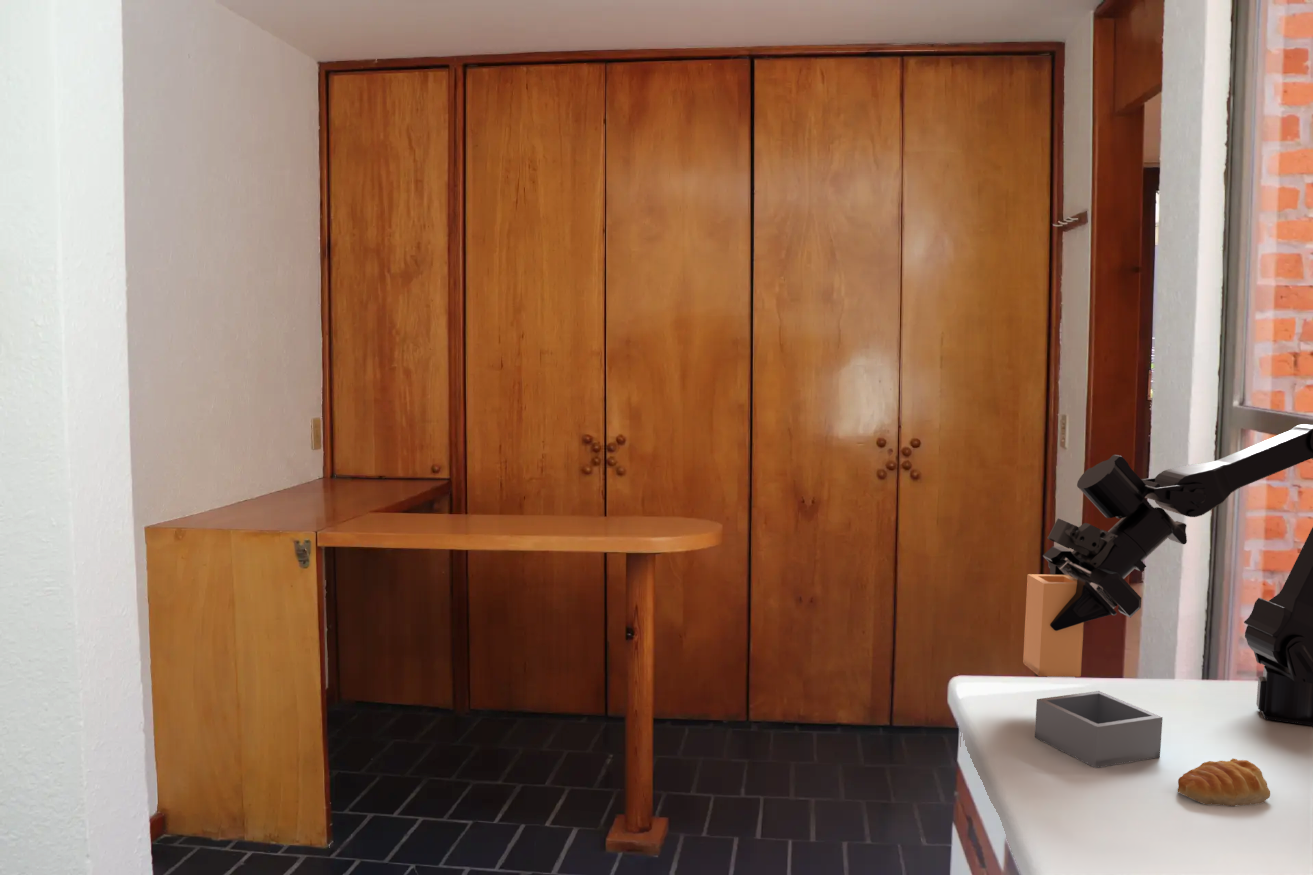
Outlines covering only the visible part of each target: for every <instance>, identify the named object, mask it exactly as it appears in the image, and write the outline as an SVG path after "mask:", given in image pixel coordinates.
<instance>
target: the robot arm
mask: <svg viewBox="0 0 1313 875" xmlns="http://www.w3.org/2000/svg"><path fill="white" fill-rule="evenodd" d="M1309 460H1313V424H1307V423H1303V424H1298V425H1296V426H1294V427H1293V428H1291V429H1289V430H1288V431H1284V432H1283V433H1279V434H1277V435H1275V436H1273V437H1270V438H1268V439H1265V440H1263V441H1261V442H1258V443H1256V444H1253V445H1251V446H1249V447H1246V448H1244V449H1242V450H1239V451H1236V452H1233V453H1231V454H1229V455H1227V456H1224V457H1221V458H1219V459H1217V460H1213V461H1210V462H1209V461H1208V462H1201V463H1192V464H1186V465H1182V466H1178V467H1177V466H1176V467H1172V468H1168V469H1164V470H1163V471H1161V472H1159V473H1158V474H1157V475H1156V476H1155V477H1150V478H1149V477H1148V478H1140V476H1139V475H1138V474H1137V473H1136V472H1135V471H1134V470H1133V469H1132V467H1131V466H1130V465H1129V463H1128V461H1127V460H1126V459H1125V457H1123V456H1122V455H1119V454H1113V455H1112V456H1111V457H1110V458H1108V459H1107V460H1103V461H1100V462H1099V463H1097V464H1095V465H1094V466H1092V467H1089V468H1087V469H1086V470H1085V471H1084V472H1083V474H1082V475H1081V476H1080V477H1079V478H1078V480H1077V484H1076V486H1077V488H1078V489H1079V491H1080V492H1082V494H1084V496H1085V497H1086V498H1087V499H1088V500H1089V501H1090V502H1091V503H1092V504H1093V505H1094V506H1095V508H1097V510H1098V511H1099V512H1100V513H1101V514H1102V515H1103V516H1104V517H1105V518H1106V519H1113V518H1116V519H1119V521H1117V522H1116V523H1115V524H1114V525H1113V526H1112V527H1111V528H1110V529H1108V531H1106V530H1104V529H1102V528H1098V527H1096V526H1094V525H1092V524H1090V523H1087V522H1084V523H1082V524H1081V525H1079V526H1077V525H1075V524H1073V523H1071V522H1069V521H1067V520H1065V519H1061V518H1060V517H1059V518H1056V521H1055V523H1054V525H1053V527H1052V529H1051V530H1050V533H1049V535H1048V536H1047V539H1048V540H1049V541H1051V542H1053V543H1056V544H1058V545H1060V546H1051V547H1050V548H1049V549H1048V550H1047V551H1046V552H1045V553H1044V554H1043V555H1042V557H1043V558H1044V559H1045V560H1046V561H1047V562H1048V568H1049V575H1069V576H1071V577H1073V578H1075V579H1077V588H1076V593H1075V595H1074V596H1073V597H1072V598H1071V600H1070V601H1069V602H1068V603H1067V604H1066V605H1065V607H1064V608H1063V609H1062V610H1061V611H1060V612H1059V614H1058V615H1057V616H1056V617H1055V619H1054V620H1053V621H1052V623H1051V624H1050V626H1051V627H1052V628H1053V629H1054V630H1055V631H1058V630H1061V629H1064V628H1067V627H1070V626H1073V625H1077V624H1080V623H1083V622H1084V623H1086V622H1089V621H1092V620H1097V619H1100V618H1105V617H1107V616H1111V615H1112V616H1116V615H1117V612H1116V610H1115V609H1116V608H1117V607H1118V608H1117V610H1118V612H1119V613H1120V614H1123V615H1124V616H1126V617H1128V618H1132V617H1133V615H1135V614H1136V613H1138V611H1139V610H1140V609H1141V608H1142V596H1141V595H1139V594H1138V592H1137V591H1136V590H1135V589H1134V588H1133V587H1132V586H1131V585H1130V584H1129V583H1128V582H1127V581H1126V580H1125V579H1126V577H1127V576H1128V575H1130V574H1131V572H1133V571H1134V570H1137V571H1139V572H1142V571H1144V569H1145V568H1147V565H1146V564H1145V563H1144V561H1145V560H1146V559H1147V558H1148V557H1149V556H1150V555H1151V554H1152V553H1153V552H1154V551H1155V550H1156V549H1157V548H1158V547H1160V546H1161V545H1162V544H1163V543H1164V542H1165V541H1166V540H1168V539H1169V541H1172V542H1176V543H1178V544H1182V545H1186V544H1187V542H1188V539H1187V537H1188V536H1187V532H1186V531H1187V524H1186V523H1184V522H1182V521H1179V520H1174V519H1173V518H1172V517H1171V516H1170V515H1169V513H1168V512H1167V511H1169V512H1172V513H1175V514H1179V515H1182V516H1186V517H1188V518H1197V517H1202V516H1203V515H1206V514H1207V513H1209V512H1210V511H1212V510H1214V509H1215V508H1216V507H1218V506H1221V504H1223V503H1224V502H1225V501H1226V500H1227V499H1228V497H1229V496H1230V495H1231V494H1232V493H1234V492H1235V491H1237V490H1238V489H1241V488H1243V487H1245V486H1248V485H1250V484H1252V483H1255V482H1258V481H1260V480H1262V479H1263V480H1264V479H1265V478H1267V477H1270V476H1272V475H1274V474H1277V473H1279V472H1281V471H1284V470H1288V469H1289V468H1291V467H1295V466H1297V465H1299V464H1302V463H1304V462H1307V461H1309ZM1148 499H1149V500H1152V501H1154V502H1155V503H1156V505H1157V507H1156V506H1155V507H1154V506H1153V505H1152V504H1151V503H1150V502H1149V501H1148ZM1165 510H1166V511H1165ZM1069 549H1071V550H1073V551H1071V550H1069ZM1288 574H1289V575H1288V576H1287V578H1286V580H1285V582H1284V584H1283V586H1282V589H1281V590H1280V591H1279V592H1278V593H1277V594H1276V595H1275V596H1274V597H1272V598H1271V599H1269V600H1267V599H1264V598H1262V597H1258V598H1257V599H1256V600H1255V602H1254V605H1253V607H1252V610H1251V613H1250V615H1248V618H1246V619H1245V620H1244V621H1243V623H1244V624H1245V625H1247V626H1246V628H1245V631H1244V637H1245V639H1246V642H1247V645H1248V646H1249V648H1250V649H1251V651H1253V653H1254V656H1255V660H1256V663H1258V664H1260V665H1263V673H1262V674H1263V675H1260V676H1258V679H1257V689H1256V690H1257V692H1256V707H1257V709H1258V710H1259V711H1260V713H1261V714H1262V717H1263V719H1265V720H1270V721H1277V722H1283V723H1284V722H1285V723H1291V724H1296V725H1297V724H1300V725H1306V726H1312V727H1313V526H1312V527H1311V529H1310V531H1309V534H1308V536H1307V538H1306V539H1305V541H1304V543H1303V545H1302V548H1301V550H1300V552H1299V554H1298V555H1297V558H1296V560H1295V562H1294V564H1293V566H1292V567H1291V570H1290V572H1289V573H1288Z"/></svg>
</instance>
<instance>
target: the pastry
mask: <svg viewBox="0 0 1313 875" xmlns="http://www.w3.org/2000/svg"><path fill="white" fill-rule="evenodd" d="M1177 782H1178V783H1177V785H1178V788H1177V789H1176V790H1177V793H1179V794H1182V795H1183V796H1186V797H1187V798H1190V799H1191V800H1193V801H1196V802H1198V803H1201V804H1204V805H1216V806H1227V807H1236V806H1250V805H1260V804H1263V803H1265V802H1266V801H1267V800H1268V799H1269V798H1270V797H1271V790H1270V789H1269V786H1268V782H1267V781H1266V779H1265V778H1264V776H1263V772H1262V770H1261V768H1259V767H1258V766H1257V765H1256V764H1254V763H1252V762H1251V761H1249V760H1244V759H1236V758H1232V759H1230V760H1227V761H1226V760H1217V761H1212V760H1209V761H1206V762H1205V761H1204V762H1203V763H1201V764H1200V765H1199V766H1197V767H1194V768H1193V769H1189V770H1188V771H1187V772H1185V773H1183V774H1182V776H1180V777H1179V778H1178V780H1177Z"/></svg>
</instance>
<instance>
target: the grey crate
mask: <svg viewBox="0 0 1313 875" xmlns="http://www.w3.org/2000/svg"><path fill="white" fill-rule="evenodd" d="M1034 726H1035V727H1034V738H1035V739H1037V740H1039V741H1042V742H1043V743H1044V744H1047V745H1049V746H1051V747H1053V748H1055V749H1056V750H1059V751H1061V752H1063V753H1065V754H1067V755H1069V756H1070V757H1073V758H1074V759H1077V760H1079V761H1081V762H1082V763H1084V764H1087V765H1089V766H1091V767H1092V768H1094V769H1097V768H1102V767H1103V768H1104V767H1109V766H1115V765H1120V764H1127V763H1133V762H1134V763H1135V762H1139V761H1144V760H1145V761H1146V760H1149V759H1150V760H1151V759H1156V758H1157V759H1158V758H1160V757H1161V745H1162V731H1163V716H1161V715H1158V714H1156V713H1154V712H1150V711H1148V710H1146V709H1144V708H1142V707H1139V706H1136V705H1133V704H1132V703H1129V702H1126V701H1124V700H1121V699H1119V698H1117V697H1114V696H1113V695H1110V694H1108V693H1106V692H1103V691H1100V690H1095V691H1088V692H1081V693H1073V694H1066V695H1065V694H1064V695H1058V696H1050V697H1043V698H1037V699H1036V706H1035V725H1034Z"/></svg>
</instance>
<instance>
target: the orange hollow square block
mask: <svg viewBox="0 0 1313 875" xmlns="http://www.w3.org/2000/svg"><path fill="white" fill-rule="evenodd" d="M1026 584H1027V585H1026V596H1025V597H1026V601H1025V619H1024V620H1025V621H1024V635H1023V637H1024V639H1023V641H1024V642H1023V657H1022V664H1024V665H1025V666H1026V667H1027V668H1028V669H1029V670H1031V671H1032V673H1034V674H1036V676H1038V677H1066V678H1068V677H1073V678H1074V677H1077V678H1080V677H1081V675H1082V660H1083V644H1084V641H1083V640H1084V625H1085V624H1084V623H1085V622H1083V623H1080V624H1077V625H1073V626H1070V627H1067V628H1064V629H1061V630H1058V631H1055V630H1054V629H1053V628H1052V627H1051V626H1050V624H1051V623H1052V621H1053V620H1054V619H1055V617H1056V616H1057V615H1058V614H1059V612H1060V611H1061V610H1062V609H1063V608H1064V607H1065V605H1066V604H1067V603H1068V602H1069V601H1070V600H1071V598H1072V597H1073V596H1074V595H1075V593H1076V588H1077V579H1075V578H1073V577H1071V576H1069V575H1050V574H1041V573H1040V574H1035V573H1034V574H1032V573H1029V574H1027V580H1026Z"/></svg>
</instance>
